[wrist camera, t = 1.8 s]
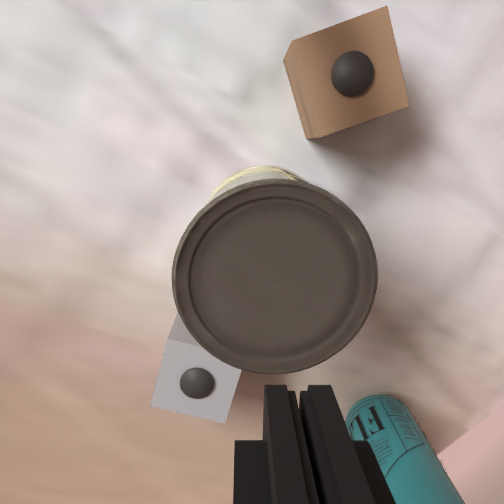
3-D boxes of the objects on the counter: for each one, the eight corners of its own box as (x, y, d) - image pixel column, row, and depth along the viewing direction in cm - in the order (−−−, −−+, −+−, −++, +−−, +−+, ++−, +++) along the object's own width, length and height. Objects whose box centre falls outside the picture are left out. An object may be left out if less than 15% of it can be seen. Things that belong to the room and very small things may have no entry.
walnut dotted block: (359, 32, 30) (388, 4, 24) (379, 112, 31) (410, 105, 25) (283, 60, 30) (292, 40, 24) (306, 138, 32) (320, 137, 26)
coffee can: (341, 183, 33) (409, 212, 19) (303, 297, 35) (339, 394, 22) (218, 148, 32) (198, 152, 18) (189, 267, 34) (151, 350, 21)
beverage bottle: (362, 371, 37) (487, 617, 18) (420, 401, 38) (599, 665, 19) (325, 424, 39) (404, 704, 19) (382, 451, 40) (511, 744, 20)
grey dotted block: (245, 323, 36) (245, 359, 30) (228, 380, 37) (224, 425, 31) (180, 306, 35) (167, 340, 29) (165, 364, 37) (149, 407, 31)
